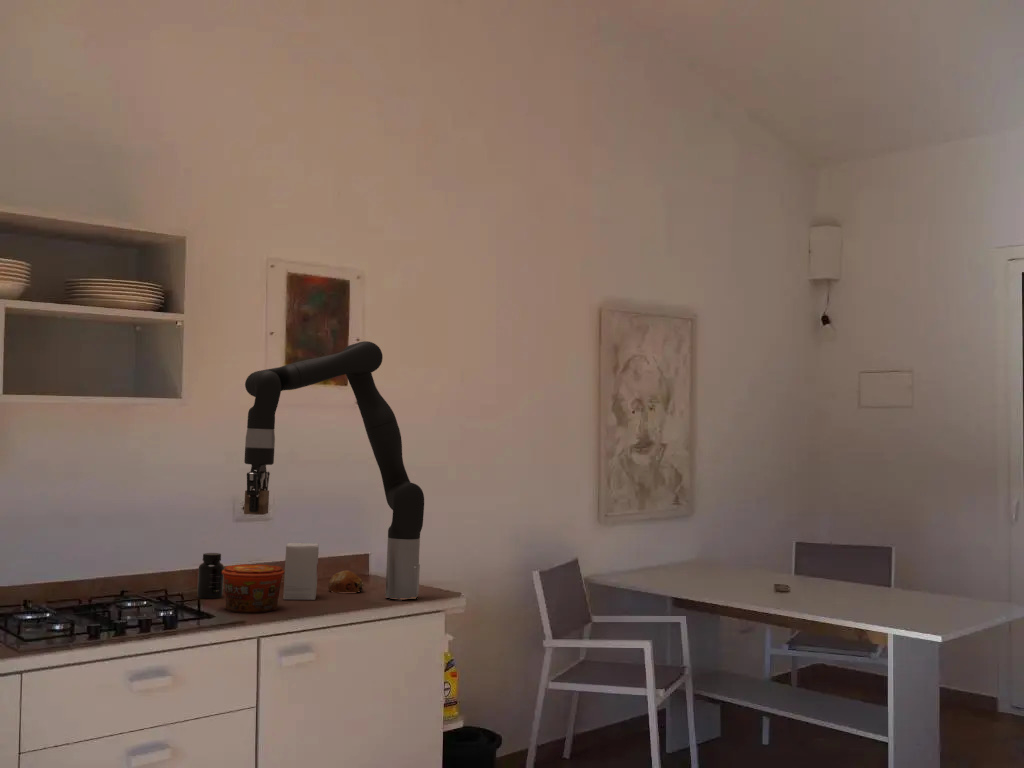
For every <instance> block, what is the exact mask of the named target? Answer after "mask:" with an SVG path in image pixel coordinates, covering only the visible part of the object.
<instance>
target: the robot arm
mask: <svg viewBox="0 0 1024 768" xmlns="http://www.w3.org/2000/svg"><path fill="white" fill-rule="evenodd" d="M382 363H383V352H382V350H381V348H380V346H379V345H377V344H376V343H375V342H373V341H366V340H364V341H359V342H356V343H353V344H349V345H347V346H346V347H344V349H343V350H342V351H341V352H336V353H334V354H329V355H323V356H320V357H313V358H310V359H304V360H299V361H296V362H292V363H289V364H285V365H282V366H278V367H274V368H266V369H262V370H256V371H254V372H251V373H250V374H249V375H248V376H247V377H246V379H245V382H244V383H245V384H244V387H245V390H246V392H247V393H248V395H250V396H252V397H254V398H255V399H254V402H253V405H252V406H251V407H250V408H249V410H248V413H247V422H246V423H247V425H246V428H247V429H246V435H245V445H244V459H243V460H244V461H243V462H244V463H245V465H251V466H250V471H248V472H247V473H246V490H247V495H249V497H250V503H249V511H250V512H258V505H259V493H260V490H269V482H270V475H271V472H270V471H267V466H272V465H274V463H275V446H276V445H275V444H276V436H275V430H276V429H275V427H276V426H275V425H276V411H277V409H278V405H279V402H280V398H281V393H282V392H283V391H292V390H298V389H302V388H305V387H308V386H312V385H316V384H318V383H321V382H324V381H326V380H330V379H333V378H336V377H339V376H346V378H347V380H348V383H349V386H350V387H351V389H352V391H353V394H354V396H355V397H354V398H355V400H356V403H357V406H358V410H359V412H360V416H361V418H362V422H363V425H364V429H365V432H366V434H367V439H368V441H369V444H370V447H371V449H372V452H373V453H372V454H373V456H374V458H375V462H376V463H377V466H378V469H379V471H380V475H381V479H382V484H383V485H382V486H383V489H384V495H385V499H386V502H387V505H388V507H389V509H391V510H392V518H391V519H392V520H391V523H390V526H389V527H388V529H387V548H386V549H387V550H386V568H385V569H386V570H385V572H386V576H385V590H384V591H385V594H384V595H385V596H386V597H388V598H397V599H400V598H411V597H417V596H418V594H420V593H419V592H420V590H419V589H420V572H421V571H420V570H421V569H420V568H421V564H420V545H421V531H422V529H423V524H424V512H425V495H424V492H423V489H422V488H421V487H420V486H419V485H418V484H416V483H414V482H411V481H410V478H409V475H408V473H407V470H406V467H405V463H404V460H403V459H404V458H403V443H402V442H403V441H402V440H403V439H402V435H401V431H400V427H399V425H398V421H397V418H396V415H395V413H394V411H393V409H392V407H391V406H390V405H389V403H388V402H387V401H386V399H385V398H384V397H383V396H382V395H381V393H380V391H379V390H378V388H377V386H376V383H375V380H374V378H373V373H374V372H375V371H377V370H378V369H379V368H380V366H382ZM253 490H255V491H253ZM257 497H258V498H257ZM385 596H384V597H385Z"/></svg>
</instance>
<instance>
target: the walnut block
mask: <svg viewBox="0 0 1024 768" xmlns="http://www.w3.org/2000/svg"><path fill="white" fill-rule="evenodd" d="M253 491H255V489H253ZM244 492H245V493H244V508H243V514H244V515H267V514H269V502H270V501H269V500H270V498H269V497H270V490H269V489H268V490H260V493H259V505H258V512H250V511H249V503H250V497H249V495H247V489H246V490H245V491H244ZM257 498H258V497H257Z"/></svg>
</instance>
